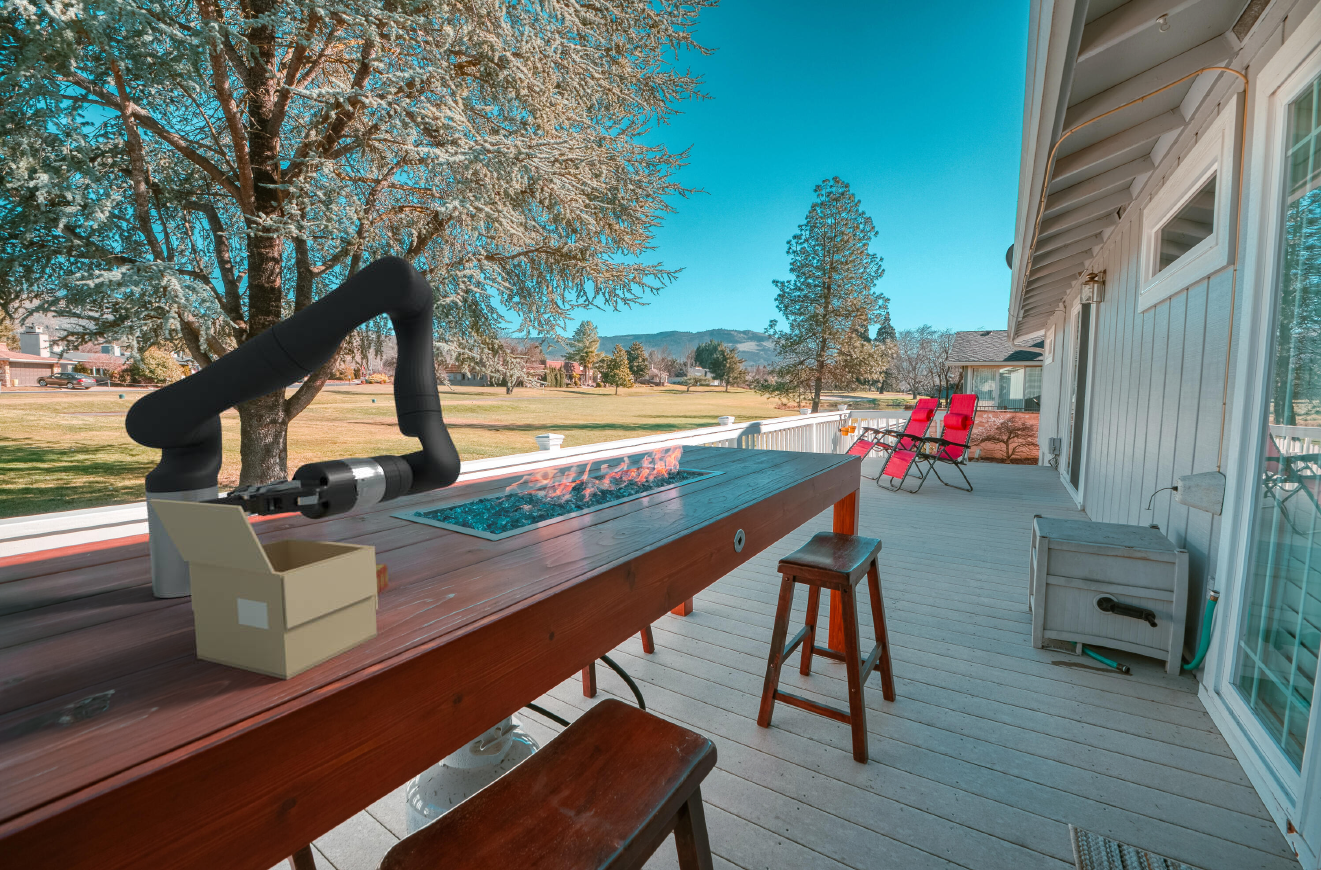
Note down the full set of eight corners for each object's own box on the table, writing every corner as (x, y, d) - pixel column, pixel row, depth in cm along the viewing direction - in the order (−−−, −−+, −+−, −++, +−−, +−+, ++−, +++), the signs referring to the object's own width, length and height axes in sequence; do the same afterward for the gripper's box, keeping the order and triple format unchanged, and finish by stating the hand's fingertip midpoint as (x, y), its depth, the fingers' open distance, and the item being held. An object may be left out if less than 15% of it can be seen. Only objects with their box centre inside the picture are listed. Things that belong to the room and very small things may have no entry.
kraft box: (194, 657, 68) (186, 561, 67) (294, 619, 80) (289, 537, 79) (289, 680, 62) (282, 575, 61) (382, 635, 74) (378, 546, 73)
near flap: (187, 559, 67) (184, 560, 66) (151, 499, 63) (148, 500, 63) (274, 571, 61) (272, 573, 61) (241, 505, 58) (238, 507, 58)
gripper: (304, 458, 79) (160, 476, 63) (374, 460, 75) (237, 480, 59) (308, 510, 80) (166, 541, 64) (378, 515, 75) (243, 550, 59)
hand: (201, 512), depth 61 cm, fingers closed
